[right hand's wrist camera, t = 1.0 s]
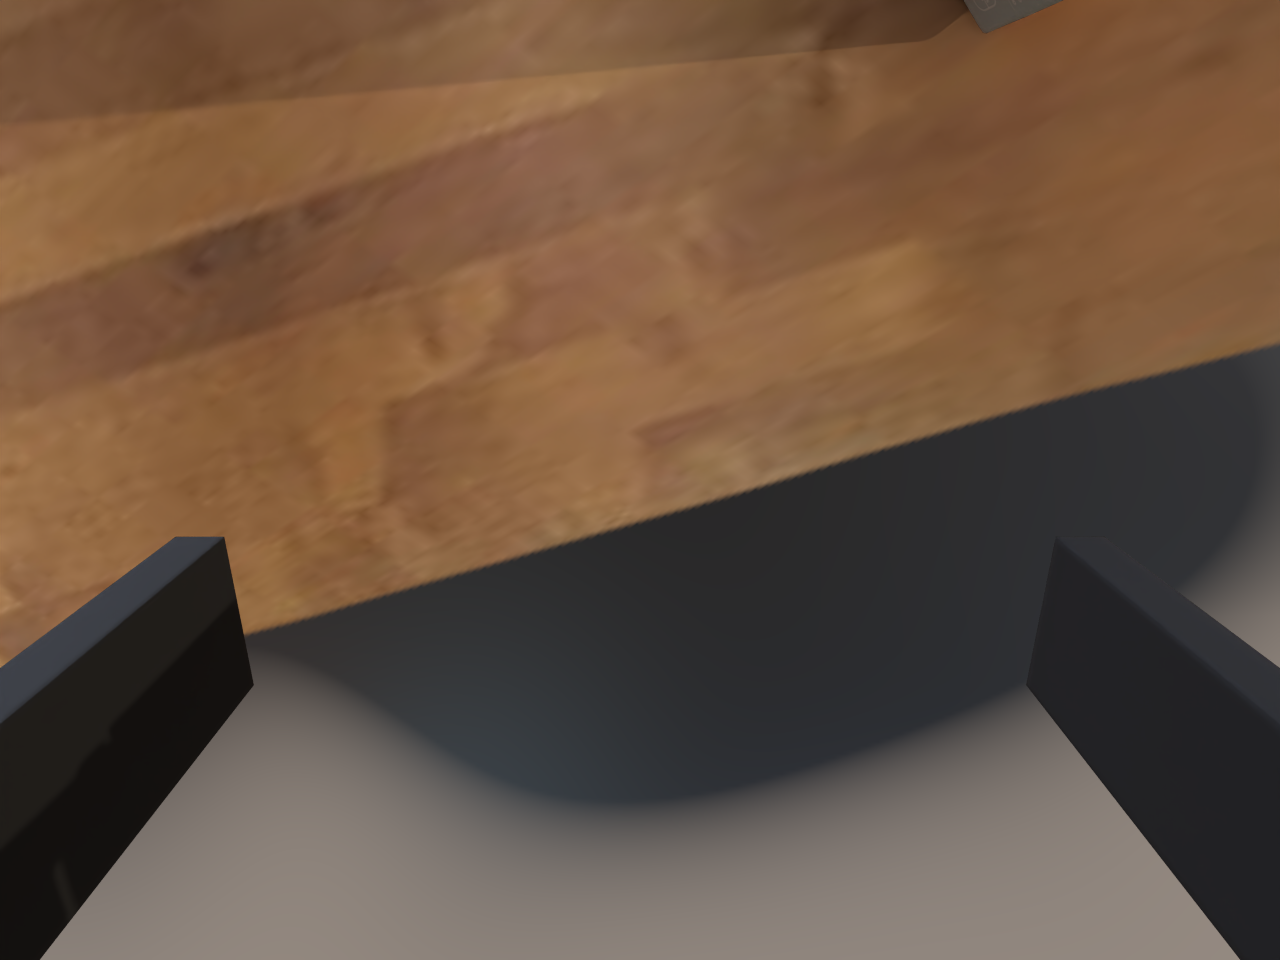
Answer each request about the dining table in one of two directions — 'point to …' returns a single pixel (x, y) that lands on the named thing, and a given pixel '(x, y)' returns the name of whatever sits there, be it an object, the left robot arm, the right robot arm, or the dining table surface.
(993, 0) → the hard drive box
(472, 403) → the dining table surface
